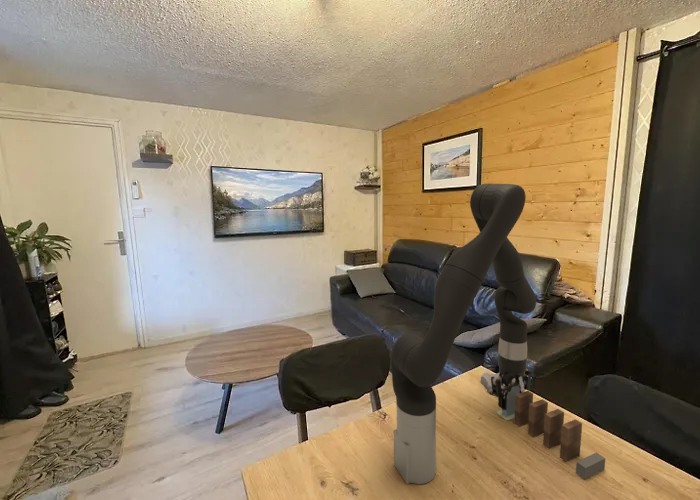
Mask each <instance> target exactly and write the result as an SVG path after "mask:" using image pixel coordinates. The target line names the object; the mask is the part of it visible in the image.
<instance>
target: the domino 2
mask: <svg viewBox="0 0 700 500" xmlns="http://www.w3.org/2000/svg"><path fill="white" fill-rule="evenodd" d="M533 402H534V393H533V392H531V391H530V390H525V392H522V393H519V394H516V395H515V418H513V420H514V421H513V422H514V425H516V426H517V427H518V428H520V427H522V426H525V425H528V422H529V404H530V403H533Z"/></svg>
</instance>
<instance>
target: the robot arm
mask: <svg viewBox="0 0 700 500" xmlns="http://www.w3.org/2000/svg"><path fill="white" fill-rule="evenodd" d="M526 197H527V196H526V192H525V190H524V188H523V187H522V186H521V185H519V184H514V183H481V184H479V185H477V186H476V187H475V188H474V190H473V191H472V193H471V196H470V199H469V200H470V201H469V206H470V210H471V211H470V212H471V214H472V217H473V218H474V221H475V223H476V227H477V228H478V230H479V233H478V234H477V235H476V236H475V237H474V238H472V239H471V240H470V241H469V242H467V243H466V244H464V245H463V246H462V247H459V249H458V250H457V251H455V252H454V253H452V255H451V256H450V257H449V258H448V259H447V261H446V263H445V264H444V265H443V268H442V269H441V271H440V273H439V276H438V278H437V279H436V282H435V286H434V294H433V295H434V297H433V317H432V320H431V324H430V326H429V328H428V330H427V333H426V335H425V336H424V338H422V337H420V336H418V335H417V334H413V333H408V334H403V335H401V336H400V337H399V338H397V340H396V341H395V342H394V344H393V347H392V351H391V356H390V357H391V358H390V362H391V363H390V364H391V365H390V366H391V380H392V389H393V392H394V395H395V398H396V399H395V400H396V401H395V402H396V405H395V406H396V429H394V430H393V465H394V466H395V468H396V469H397V472H398V473H399V474H400V476H401V477H402V479H403V480H404V482H405V484H406V485H407V484H408V485H409V484H417V485H423V484H427V483H430V482H432V481H433V480H434V478H435V476H436V473H437V396H436V395H437V394H436V393H435V391H434V389H433V387H432V385H433V384H434V383H435V382H436V381H437V380H438V379H439V377H440V376H441V374H442V372H443V370H444V368H445V366H446V364H447V361H448V358H449V356H450V354H451V350H452V348H453V346H454V342H455V339H457V338H456V337H457V335H458V332H459V330H460V328H461V326H462V324H463V321H464V320H465V317H466V315H467V313H468V311H469V308H471V306H472V303H473V301H474V299H475V298H476V296H477V295H478V292H479V290H480V289H481V287H482V284H483V282H484V280H485V278H486V275H487V273H488V272H489V270H490V267H491V265H493V270H494V271H493V272H494V274H495V279H496V282H497V284H498V285H499V287H498V288H497V289H496V290H495V292H494V299H493V300H494V301H493V302H494V304H495V308H496V313H497V316H498V320H499V341H498V353H497V355H498V357H497V366H498V368H499V372H498V373H499V376H498V377H496V378H495V377H491V385H492V393H493V394H492V393H491V394H492V395H494V396H495V397H497V405H498V407H499V408H500V410H502V409H503V410H506V407H507V399H506V398H507V395H508V393H509V392H511V389H512V387H513V386H518V384H519V388H520V393H522V392H526V391H529V389H530V385H531V379H532V374H533V372H532V370H530V369H528V367H527V365H528V339H527V338H528V323H527V321H526V320H523V319H522V318H520V317H518V316H516V315H515V314H514V313H519V314H521V315H522V314H523V315H527V314H531V313H532V312H533V311H535V309H536V306H537V297H536V294H535V292H534V289H533V288H532V287H531V284H530V283H529V281H528V280H527V277H526V276H525V271H524V267H523V261H522V257H521V256H520V253H519V252H518V249H517V248H516V247H515V245H514V244H513V243H512V242H511V240H510V239H509V238H508V236H509V235H510V233H511V231H512V230H513V229H514V227H515V226H516V224H517V222H518V221H519V219H520V217H521V215H522V213H523V210H524V207H525V203H526ZM513 312H514V313H513ZM503 384H504V385H506V386H507V388H506V387H504V385H503ZM503 390H504V393H502V391H503Z"/></svg>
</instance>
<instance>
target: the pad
mask: <svg viewBox="0 0 700 500" xmlns="http://www.w3.org/2000/svg"><path fill="white" fill-rule="evenodd" d="M495 413H496V414H498V415H499V416H500V417H501V418H503V420H505V421H510V420H514V418H515V414H513V415H510V416H508V417H506V416H504V415H503V414H502V409H500V410H498V411H495Z"/></svg>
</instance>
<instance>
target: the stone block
mask: <svg viewBox="0 0 700 500" xmlns="http://www.w3.org/2000/svg"><path fill="white" fill-rule="evenodd" d="M499 373H500V372H497V373H488V372H484V373H482V374H481V375H480V376H481V377H480V382H481V384H482V385H483V386H484V388H486V391H487V392H488V393H489V394H492V395H494V394H493V393H492V385H491V377H495V378H496V377H498V376H499ZM503 385H504V384H503ZM504 386H505V385H504ZM502 393H503V391H502Z"/></svg>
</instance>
